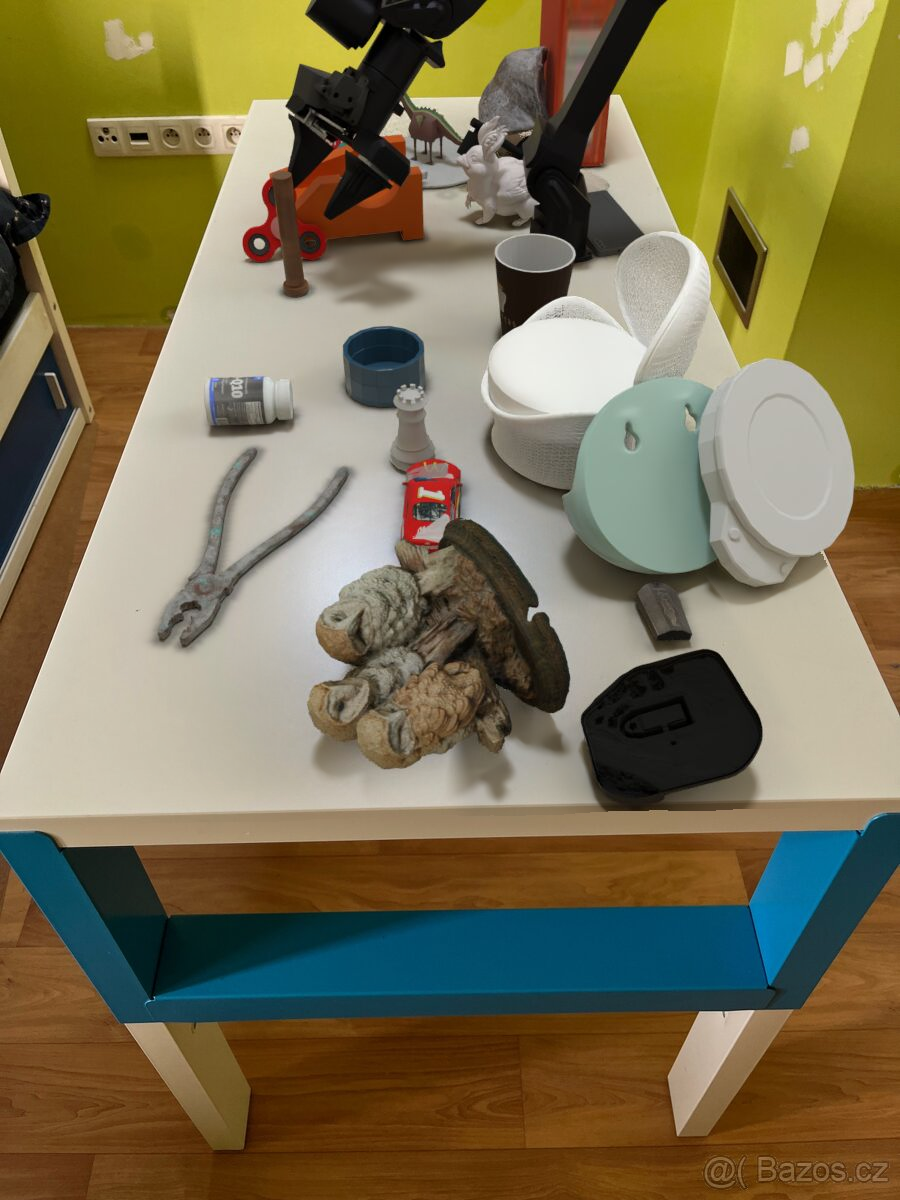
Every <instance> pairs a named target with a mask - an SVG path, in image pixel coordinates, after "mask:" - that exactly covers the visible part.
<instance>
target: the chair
mask: <svg viewBox="0 0 900 1200" xmlns="http://www.w3.org/2000/svg"><path fill="white" fill-rule="evenodd" d="M649 242H650V243H649ZM644 244H645V245H644ZM649 245H650V246H649ZM644 246H645V247H644ZM642 248H643V249H642ZM640 249H641V250H640ZM614 269H615V270H614V285H615V294H616V298H617V301H618V306H619V309H620V311H621V314H622V317H623V319H624V322H625V324H626V327H627V329H628V331H629V333H628V332H627V331H626V330H625V328H624V327H622V326H621V324H620V323H618V321H617V320H616V319H614V318H613V316H611V314H609V313H608V312H607V311H606V310H604V309H603V308H602V307H601V306H599V305H598V304H596V303H595V302H593V301H591V300H589V299H587V298H584V297H581V296H576V295H567V297H561V298H559V299H556V300H554V301H552V302H550V303H548V304H547V305H545V306H544V307H542V308H541V309H539V310H538V311H537V312H536V313H534V314H533V315H532V316H531V317H530V318H529V319H528V320H527V321H526V322H525V323H524V324H523V325H521V326H519V327H517V328H514V329H513V330H511V331H510V332H508V333H507V334H505V335H504V336H503V337H502V336H501V337H500V339H498V341H497V342H495V344H494V345H493V347H492V349H491V351H490V353H489V357H488V360H487V361H488V362H487V368H486V370H485V371H484V373H483V376H482V379H481V382H480V383H481V384H480V394H481V398H482V401H483V403H484V404H485V406H486V408H488V410H489V411H490V413H491V415H492V418H493V420H494V422H493V425H492V429H491V443H492V445H493V448H494V450H495V452H496V453H497V455H498V456H499V457H500V458H501V460H502V461H503V462H504V463H505V464H506V465H507V466H509V468H511V469H512V470H514V471H515V472H516V473H518V474H520V475H521V476H523V477H525V478H527V479H528V480H531V481H533V482H535V483H538V484H540V485H543V486H546V487H550V488H555V489H561V490H569V491H571V489H572V486H573V482H574V476H575V470H576V464H577V458H578V453H579V449H580V445H581V442H582V439H583V437H584V435H585V433H586V431H587V429H588V427H589V425H590V423H591V422H592V420H593V419H594V417H595V416H596V415H597V413H598V412H599V411H600V410H601V409H602V408H603V406H604V405H605V404H606V403H608V402H609V401H610V400H611V399H612V398H613V397H615V396H616V395H618V394H619V393H621V392H622V391H624V390H626V389H628V388H630V387H632V386H634V385H637V384H639V383H642V382H645V381H649V380H652V379H658V378H666V377H679V378H684V377H685V375H686V373H687V372H688V370H689V368H690V365H691V363H692V361H693V357H694V355H695V352H696V350H697V346H698V342H699V339H700V336H701V334H702V332H703V328H704V325H705V321H706V320H707V315H708V312H709V306H710V302H711V291H712V290H711V289H712V282H711V281H712V280H711V279H712V278H711V272H710V267H709V264H708V262H707V259H706V257H705V255H704V253H703V252H702V251H701V249H700V248H699V247H698V246H697V244H696V243H695V242H694V241H692V240H691V239H690V238H689V237H686V236H685V235H683V234H682V233H681V234H680V233H677V232H674V231H668V230H667V231H666V230H660V231H653V232H650V233H646V234H645V235H644V236H641V237H640V238H638V239H636V240H635V241H633V242H632V243H631V244H629V245H628V247H627V248H626V249H625V250H624V251H623V252H622V253H620V254H619V257H618V259H617V262H616V265H615V268H614ZM562 305H564V306H562ZM562 307H563V308H562ZM555 308H556V309H555ZM560 308H561V309H560ZM563 309H564V310H563ZM555 310H556V311H555ZM559 310H560V311H561V312H560V311H559ZM562 310H563V311H562ZM557 311H558V312H557ZM547 312H548V313H547ZM550 312H551V313H550ZM555 313H556V314H555ZM557 313H558V314H559V315H560V317H558V316H559V315H558V314H557ZM562 313H563V315H562ZM547 314H549V315H551V314H552V315H553V316H552V315H551V316H552V317H551V316H549V315H547ZM566 314H567V315H566ZM546 315H547V316H546ZM555 315H558V316H557V317H558V318H557V317H556V318H555ZM548 317H549V318H548ZM546 318H547V319H546ZM550 318H551V319H550ZM540 319H541V320H540ZM543 319H544V320H543ZM625 431H626V436H625V440H624V444H625V447H626V448H627V449H628V450H629V451H634V449H635V448H636V440H635V438H634V437H633V436H632V435H631V434H630V433H629V429H628V427H627V425H625Z"/></svg>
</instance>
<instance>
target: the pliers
mask: <svg viewBox="0 0 900 1200" xmlns="http://www.w3.org/2000/svg"><path fill="white" fill-rule="evenodd" d="M257 452H258V449H257V448H256V447H253V446H252V447H250V448H248V449H247V450H246V451H245V452H244V453H243V454H242V455H241V456H240V457H239V459H238V460H237V461H236V463H234V465H233V466H232V468H231V469H230V471H229V472H228V474H227V476H226V477H225V479H224V481H223V483H222V484H221V487H220V489H219V492H218V495H217V498H216V500H215V505H214V508H213V513H212V518H211V525H210V529H209V530H210V531H209V536H208V541H207V546H206V548H205V552H204V555H203V558H202V560H201V563H200V565H199V566H198V568H197V569H196V570H195V571H193V572H192V573H191V574H190V576H189V577H188V578H187V579H188V582H187V584H186V585H185V588H184V589H181V590H180V591H179V592H178V593H177V595H176V596H174V598H173V599H172V600H171V601H169V603H168V604H167V605H166V607H165V609H164V613H163V615H162V618H161V621H160V624H159V627H158V629H157V635H158V638H159V639H160V640H166V639H167V638H168V637H169V635H170V634H171V632H172V631H171V630H172V629H173V628H172V627H174V625H176V623H179V622H180V621H183V620H184V619H185V617H184V614H183V611H185V610H187V609H195V607H196V608H198V610H199V611H198V612H197V613H192V614H190V620H191V621H190V623H189V626H187V627H186V628H184V629H183V630H182V632H181V634H180V636H179V640H180V644H181V645H183V646H187V645H188V644H190V643H191V642H192V641H193V640H194V639H195V638H196V637H197V636H199V634H201V633H202V632H203V631H204V630H205V629H207V627H208V626H210V625H211V624H212V623H213V621H214V618H215V617H216V615H217V613H218V611H219V609H220V607H221V602H222V601H223V600H224V599H225V598H226V595H227V596H228V595H231V593H232V591H233V590H234V585H235V584H236V582H237V581H238V579H239V578H240V577H241V576H242V575H244V573H246V571H248V570H250V568H251V567H252V566H253V565H255V564H256V563H257V562H258V561H260V560H261V559H263V557H265V556H266V555H267V554H269V553H270V552H272V551H273V550H274V549H276V548H278V547H279V546H280V545H281V544H283V543H285V542H286V541H288V540H289V539H290V538H291V537H293V536H294V535H296V534H297V533H298V532H300V531H301V530H302V529H304V528H305V527H306V526H307V525H308V524H310V523H311V522H312V521H313V520H314V519H315V518H316V517H317V516H318V515H319V514H321V512H322V511H323V510H325V509H326V507H327V506H328V505H329V504H330V503H331V501H332V500H333V499H334V498H335V496H336V495H337V494H338V492H339V490H340V489H341V488H342V486H343V485H344V482H345V481H346V479H347V477H348V475H349V467H348V466H342V467H340V468H339V469H338V471H337V472H336V474H335V475H334V477H333V478H332V480H331V481H330V482H329V485H328V486H327V488H326V489H325V490H324V491H323V493H322V494H321V495H320V496H319V497H318V498H317V499H316V501H315V502H314V503H313V504H312V505H311V506H310V507H309V508H307V509H306V510H305V511H304V512H303V513H302V514H301V515H299V516H298V517H297V518H296V519H295V520H293V521H292V522H290V524H288V525H287V526H284V527H283V528H282V529H281V530H279V532H277V533H275V534H274V535H273V536H271V537H270V538H268V539H267V540H265V541H264V542H262V543H261V544H259V545H258V546H257V547H255V548H254V549H252V550H251V551H250V552H248V553H247V554H246V555H244V556H243V557H241V558H240V559H238V560H237V561H235V562H234V563H233V564H232V565H231V566H229V567H228V568H226V569H225V570H224V571H221V572H219V573H217V574H215V571H216V567H217V562H218V556H219V551H220V546H221V540H222V534H223V526H224V521H225V513H226V509H227V506H228V502H229V499H230V496H231V494H232V492H233V489H234V487H235V486H236V484H237V482H238V480H239V478H240V477H241V475H242V474H243V472H244V471H245V470H246V468H247V467H248V466H249V465H250V464H251V462H252V461H253V459H254V458H255V456H256V455H257Z"/></svg>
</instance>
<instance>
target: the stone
mask: <svg viewBox="0 0 900 1200" xmlns="http://www.w3.org/2000/svg"><path fill="white" fill-rule="evenodd" d="M580 171H581V172H582V173H583V175H584V178H585V183H586V187H587V191H588V193H589V192H595V191H602V190H606V191H608V189H610V185H611V184H610V183H609V181H608V180H606V179H605V178H603V177H601V176H600V175H598V174H595V173H593V172H591V171H589V170H587V169H580Z"/></svg>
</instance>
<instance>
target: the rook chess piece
mask: <svg viewBox="0 0 900 1200" xmlns="http://www.w3.org/2000/svg"><path fill="white" fill-rule="evenodd" d="M428 397H429V396H428V394H427V395H426V393H425V390H424V389H423V388H422V387H421V386H419V387H418V389H416V388H415V384H410V388H407V389H406V385H403V386H401V390H400V389H398V390H397V395H396V396H395V397H394V400H393V402H394V405H395V406H394V407H396V408H397V411H396V414H395V415H396V417H397V419H398V427H397V428H398V429H397V434H396V436H395V437H394V440H393V441H392V443H391V447H390V456H389V458H390V461H391V464H392V465H394V466H395V467H396V468H397V469H398V470H400V471H402V472H403V473H404V472H405V473H407V469H409V468H410V467H411V466H412V465H414V464H416V463H418V462H421V461H424V460H428V459H437V455H436V452H435V451H436V447H435V445H434V442H433V440H432V439H431V437H430V435H429V434H428V433H427V428H426V423H425V421H426V420H425V418H426V417H427V411H426V409H425V408H426V406H427V405H428V403H429V398H428Z"/></svg>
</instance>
